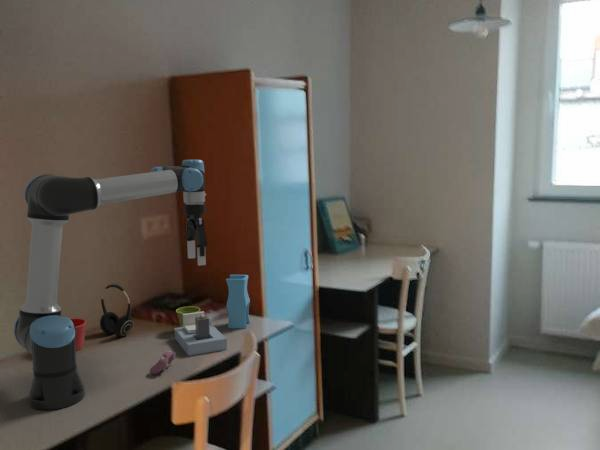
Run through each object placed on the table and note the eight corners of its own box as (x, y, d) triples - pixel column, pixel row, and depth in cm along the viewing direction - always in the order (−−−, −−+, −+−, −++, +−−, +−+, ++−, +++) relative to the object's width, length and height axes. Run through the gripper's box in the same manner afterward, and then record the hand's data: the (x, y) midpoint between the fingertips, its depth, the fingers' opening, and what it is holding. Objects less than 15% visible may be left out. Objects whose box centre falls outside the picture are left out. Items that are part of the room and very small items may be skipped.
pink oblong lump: (160, 380, 185) (168, 362, 184) (147, 373, 186) (156, 355, 184) (172, 368, 195) (180, 350, 194) (160, 361, 195) (168, 344, 194)
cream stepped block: (188, 333, 212) (188, 319, 211) (183, 327, 219) (182, 314, 218) (209, 330, 215) (209, 316, 214) (203, 324, 222) (203, 311, 221)
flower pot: (62, 356, 202) (60, 329, 201) (51, 348, 210) (49, 322, 209) (92, 349, 209) (90, 323, 207) (80, 341, 217) (79, 316, 216)
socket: (188, 355, 202) (188, 344, 201) (174, 338, 219) (174, 328, 219) (226, 349, 208) (226, 338, 207) (210, 332, 225) (210, 323, 225)
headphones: (111, 328, 231) (108, 280, 228) (139, 334, 224) (137, 284, 221) (94, 335, 224) (91, 284, 221) (123, 341, 217) (120, 289, 214)
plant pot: (206, 329, 229) (205, 308, 228) (189, 336, 221) (188, 314, 220) (188, 325, 234) (187, 305, 233) (171, 332, 226) (170, 310, 225)
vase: (231, 321, 239) (230, 274, 236) (250, 322, 238) (249, 274, 235) (227, 328, 231) (225, 279, 228) (246, 328, 230) (245, 279, 227)
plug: (198, 347, 207) (197, 317, 206) (196, 343, 211) (195, 314, 209) (209, 345, 209) (208, 316, 207) (206, 342, 212) (206, 313, 211)
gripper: (215, 206, 197) (217, 267, 200) (195, 199, 219) (197, 254, 223) (193, 207, 194) (195, 269, 197) (175, 200, 216) (178, 256, 219)
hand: (196, 261), depth 210 cm, fingers open, 13 cm apart
